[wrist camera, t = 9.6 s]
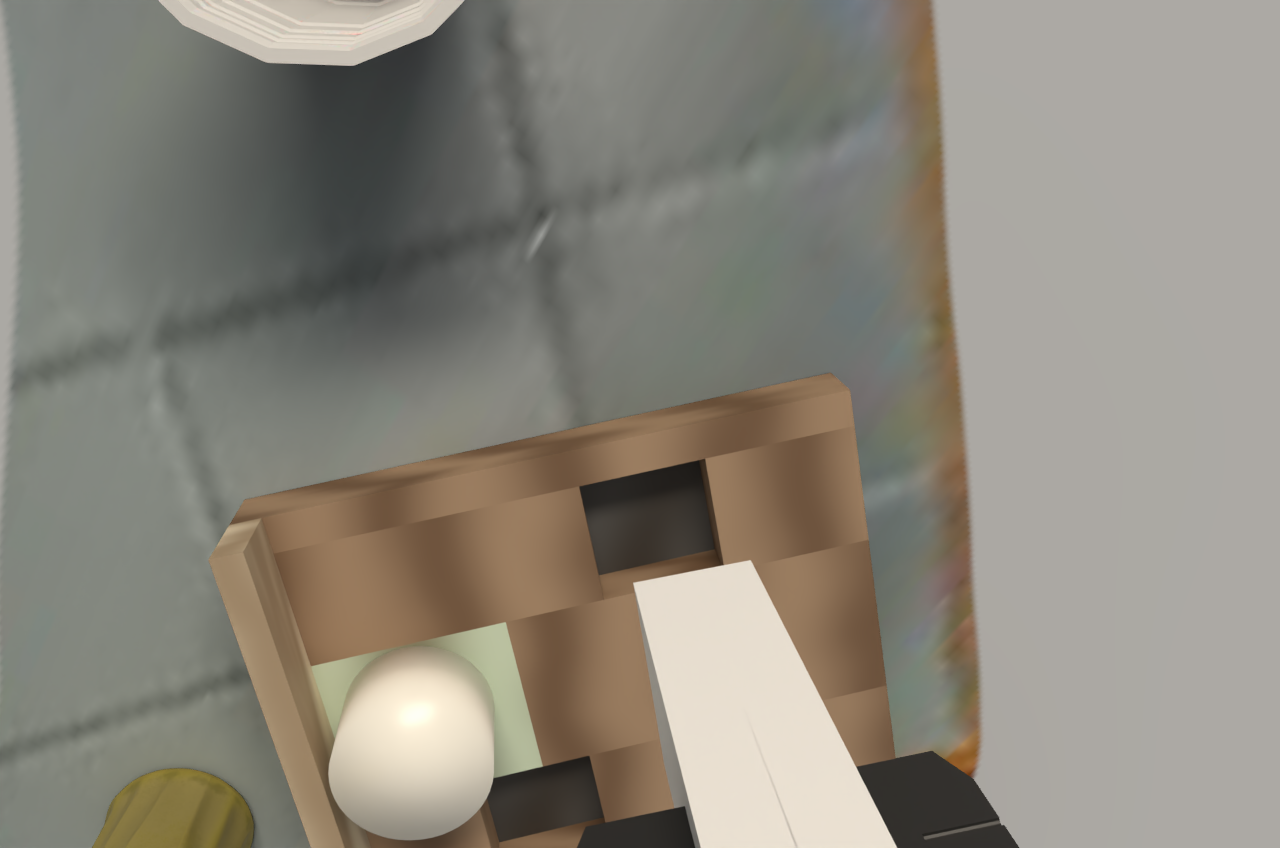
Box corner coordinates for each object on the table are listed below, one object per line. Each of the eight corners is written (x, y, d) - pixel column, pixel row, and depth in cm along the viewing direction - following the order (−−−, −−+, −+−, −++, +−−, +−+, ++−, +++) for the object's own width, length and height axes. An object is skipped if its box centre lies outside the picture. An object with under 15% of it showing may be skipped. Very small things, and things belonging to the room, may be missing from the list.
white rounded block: (353, 781, 44) (339, 849, 40) (334, 653, 42) (318, 711, 38) (500, 765, 44) (500, 830, 40) (488, 639, 42) (486, 694, 38)
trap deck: (377, 895, 48) (363, 993, 43) (244, 499, 42) (208, 559, 37) (882, 773, 50) (927, 854, 45) (830, 372, 43) (875, 413, 38)
